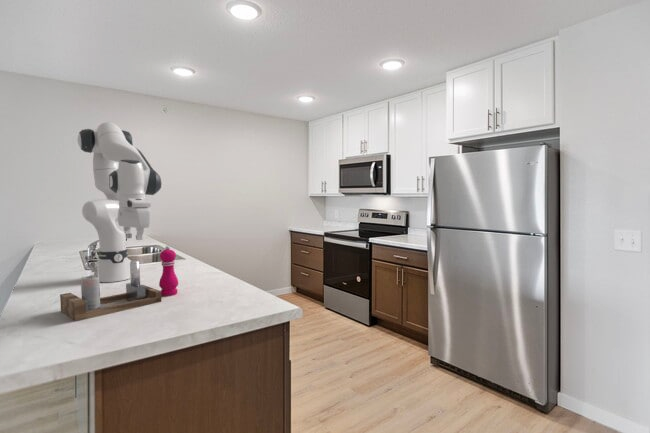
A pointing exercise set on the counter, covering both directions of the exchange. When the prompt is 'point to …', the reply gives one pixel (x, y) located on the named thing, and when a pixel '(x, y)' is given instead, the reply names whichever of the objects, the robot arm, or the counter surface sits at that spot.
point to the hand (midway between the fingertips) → (133, 239)
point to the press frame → (77, 309)
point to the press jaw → (135, 283)
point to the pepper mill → (168, 273)
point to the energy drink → (90, 292)
